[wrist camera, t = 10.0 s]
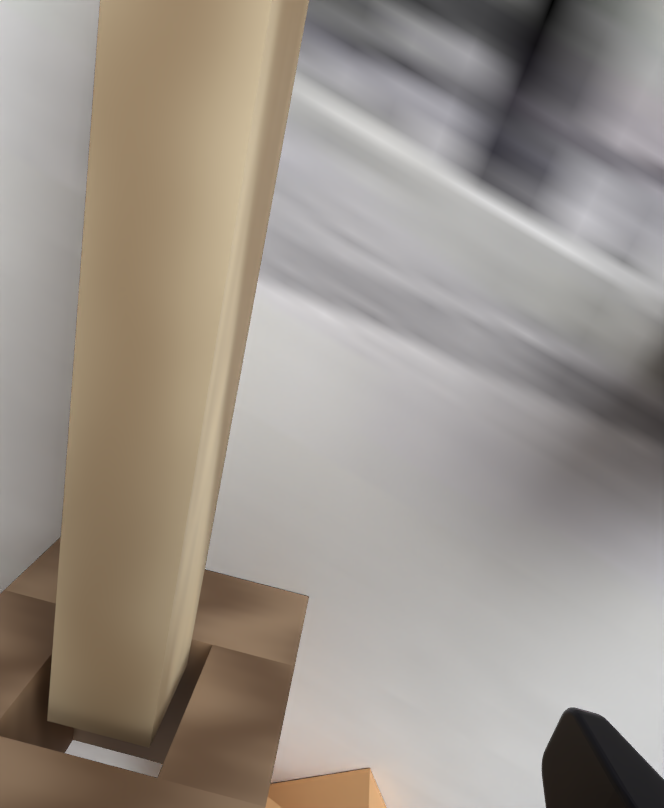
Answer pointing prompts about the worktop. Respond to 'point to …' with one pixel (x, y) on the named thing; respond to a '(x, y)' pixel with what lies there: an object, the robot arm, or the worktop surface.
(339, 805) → the frame
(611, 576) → the worktop surface
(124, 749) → the bearing block
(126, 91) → the shaft
